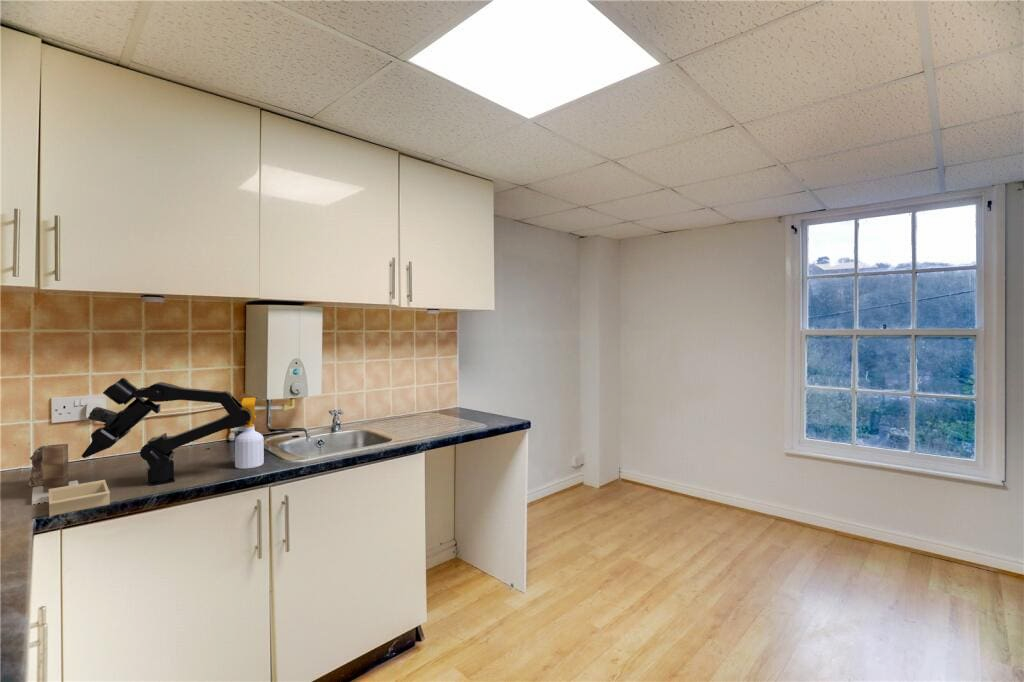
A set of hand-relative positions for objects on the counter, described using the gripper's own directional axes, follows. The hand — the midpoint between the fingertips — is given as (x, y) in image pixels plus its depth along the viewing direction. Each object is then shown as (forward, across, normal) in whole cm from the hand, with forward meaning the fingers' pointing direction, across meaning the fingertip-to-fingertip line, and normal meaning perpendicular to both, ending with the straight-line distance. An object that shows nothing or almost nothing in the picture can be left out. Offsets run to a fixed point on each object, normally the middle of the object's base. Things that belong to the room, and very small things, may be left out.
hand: (87, 453), depth 145 cm
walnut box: (+12, +1, +2) cm, 12 cm away
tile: (+13, +1, +3) cm, 13 cm away
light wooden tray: (+7, +14, +9) cm, 18 cm away
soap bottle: (-22, -7, +39) cm, 45 cm away
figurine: (+18, -15, -2) cm, 24 cm away
